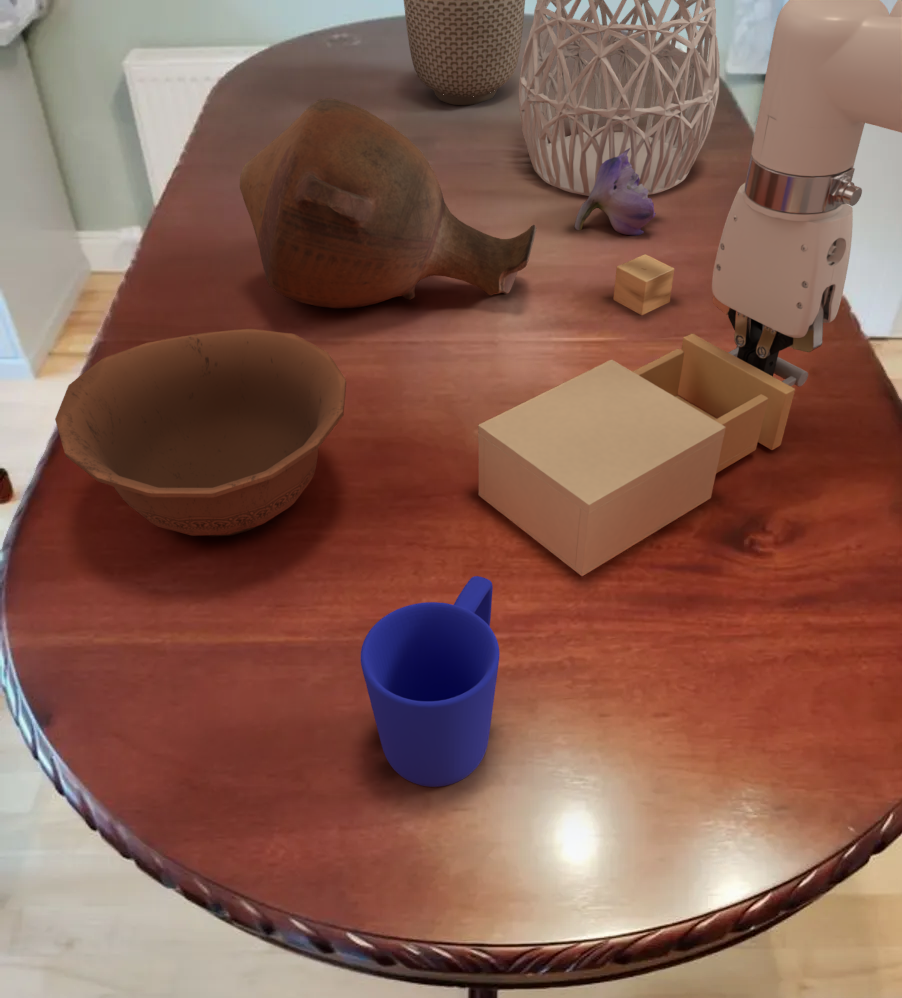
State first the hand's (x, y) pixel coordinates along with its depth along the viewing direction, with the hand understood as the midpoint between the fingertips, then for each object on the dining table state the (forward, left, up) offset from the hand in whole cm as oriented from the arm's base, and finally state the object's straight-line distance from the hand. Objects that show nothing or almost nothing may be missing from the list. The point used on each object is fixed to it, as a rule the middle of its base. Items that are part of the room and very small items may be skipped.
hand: (750, 385), depth 89 cm
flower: (-17, -34, -3) cm, 38 cm away
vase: (-29, -47, -3) cm, 55 cm away
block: (-7, -20, -3) cm, 21 cm away
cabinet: (+19, 0, -3) cm, 19 cm away
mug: (+43, +11, -3) cm, 44 cm away
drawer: (+6, 0, -2) cm, 7 cm away
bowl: (+43, -19, -3) cm, 47 cm away
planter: (-31, -80, -3) cm, 86 cm away
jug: (+12, -38, -3) cm, 40 cm away
